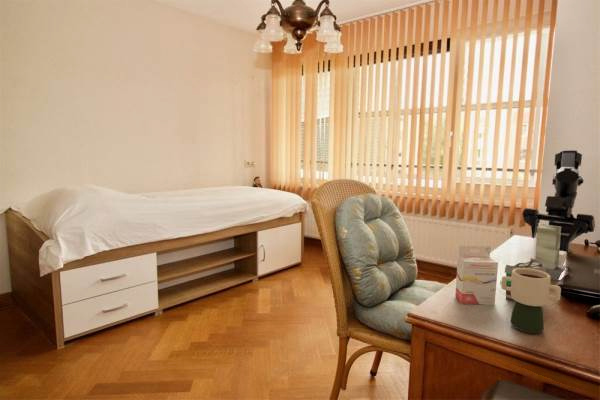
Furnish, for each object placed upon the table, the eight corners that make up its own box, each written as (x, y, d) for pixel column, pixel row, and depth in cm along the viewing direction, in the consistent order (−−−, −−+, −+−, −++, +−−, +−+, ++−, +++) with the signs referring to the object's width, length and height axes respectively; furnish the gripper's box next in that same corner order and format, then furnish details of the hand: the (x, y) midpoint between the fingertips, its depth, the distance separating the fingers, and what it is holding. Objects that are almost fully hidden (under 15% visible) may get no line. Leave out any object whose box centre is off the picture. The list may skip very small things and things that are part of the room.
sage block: (540, 261, 114) (542, 224, 112) (558, 265, 110) (561, 226, 108) (534, 265, 111) (537, 226, 109) (553, 269, 107) (555, 229, 105)
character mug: (557, 329, 76) (562, 273, 74) (555, 343, 71) (561, 283, 69) (501, 315, 83) (504, 264, 81) (496, 327, 77) (499, 272, 76)
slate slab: (535, 268, 117) (536, 260, 116) (568, 276, 110) (568, 267, 109) (525, 274, 111) (526, 266, 111) (559, 282, 104) (560, 273, 104)
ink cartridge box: (461, 304, 89) (464, 250, 87) (454, 296, 94) (457, 244, 92) (495, 305, 88) (499, 250, 86) (487, 297, 93) (490, 245, 91)
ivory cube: (548, 262, 122) (549, 248, 121) (565, 265, 118) (566, 251, 118) (543, 265, 119) (544, 251, 118) (561, 269, 115) (562, 254, 114)
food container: (526, 310, 86) (529, 271, 84) (502, 300, 91) (504, 264, 90) (553, 299, 91) (556, 263, 90) (529, 291, 97) (531, 257, 95)
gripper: (526, 185, 117) (511, 221, 111) (597, 189, 102) (584, 230, 97) (532, 205, 123) (518, 240, 117) (600, 211, 108) (588, 251, 103)
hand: (549, 240), depth 109 cm, fingers open, 9 cm apart
